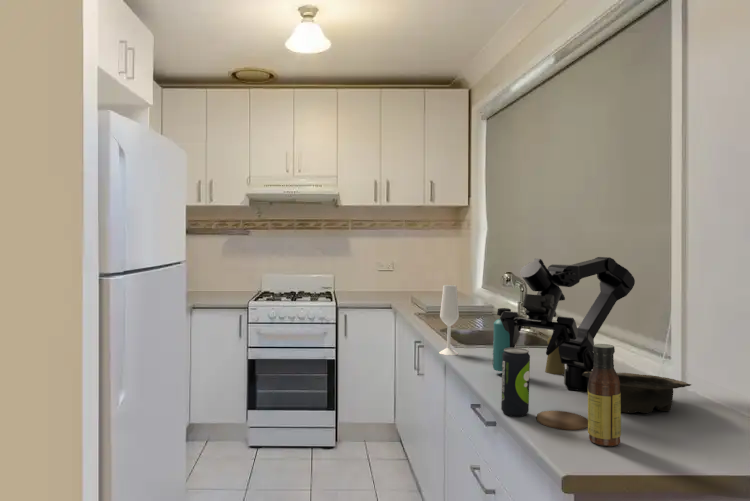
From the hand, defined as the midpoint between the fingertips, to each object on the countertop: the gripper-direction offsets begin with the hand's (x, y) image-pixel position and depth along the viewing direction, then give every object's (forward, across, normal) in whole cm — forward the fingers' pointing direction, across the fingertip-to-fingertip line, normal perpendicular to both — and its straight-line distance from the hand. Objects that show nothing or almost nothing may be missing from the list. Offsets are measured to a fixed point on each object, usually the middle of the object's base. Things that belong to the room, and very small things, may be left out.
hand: (528, 351), depth 140 cm
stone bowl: (-3, +20, +23) cm, 31 cm away
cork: (-19, -7, +38) cm, 43 cm away
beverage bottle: (-9, -18, +28) cm, 35 cm away
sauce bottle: (+20, +22, 0) cm, 29 cm away
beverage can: (+15, 0, +4) cm, 16 cm away
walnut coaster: (+14, +11, +5) cm, 18 cm away
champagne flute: (-21, -46, +40) cm, 64 cm away
